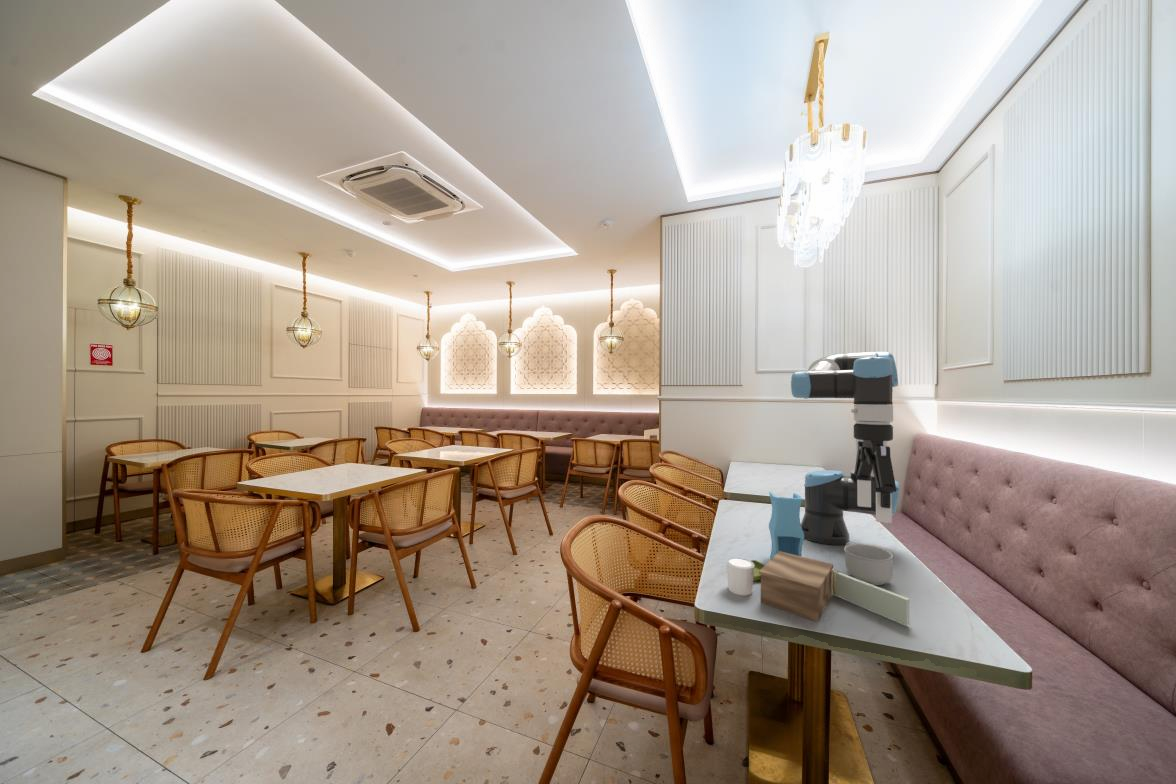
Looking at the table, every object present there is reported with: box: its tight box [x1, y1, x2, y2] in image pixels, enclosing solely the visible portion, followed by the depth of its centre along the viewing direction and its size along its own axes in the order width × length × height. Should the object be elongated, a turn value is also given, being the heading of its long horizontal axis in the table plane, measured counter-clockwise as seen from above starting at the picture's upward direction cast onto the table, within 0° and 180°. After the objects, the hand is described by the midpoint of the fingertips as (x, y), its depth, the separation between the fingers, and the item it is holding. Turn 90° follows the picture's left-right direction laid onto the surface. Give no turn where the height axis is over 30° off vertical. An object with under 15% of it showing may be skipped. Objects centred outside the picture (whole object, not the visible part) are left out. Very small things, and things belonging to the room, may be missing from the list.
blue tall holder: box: [768, 491, 805, 560], centre depth 117 cm, size 8×8×20 cm
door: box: [832, 570, 911, 627], centre depth 91 cm, size 16×1×6 cm, turn 29°
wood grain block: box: [759, 551, 834, 622], centre depth 96 cm, size 17×13×8 cm
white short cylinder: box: [725, 557, 755, 597], centre depth 100 cm, size 7×7×7 cm
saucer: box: [750, 559, 766, 582], centre depth 110 cm, size 9×9×2 cm
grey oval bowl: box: [843, 541, 894, 586], centre depth 108 cm, size 14×11×8 cm
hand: (873, 513), depth 92 cm, fingers open, 13 cm apart
